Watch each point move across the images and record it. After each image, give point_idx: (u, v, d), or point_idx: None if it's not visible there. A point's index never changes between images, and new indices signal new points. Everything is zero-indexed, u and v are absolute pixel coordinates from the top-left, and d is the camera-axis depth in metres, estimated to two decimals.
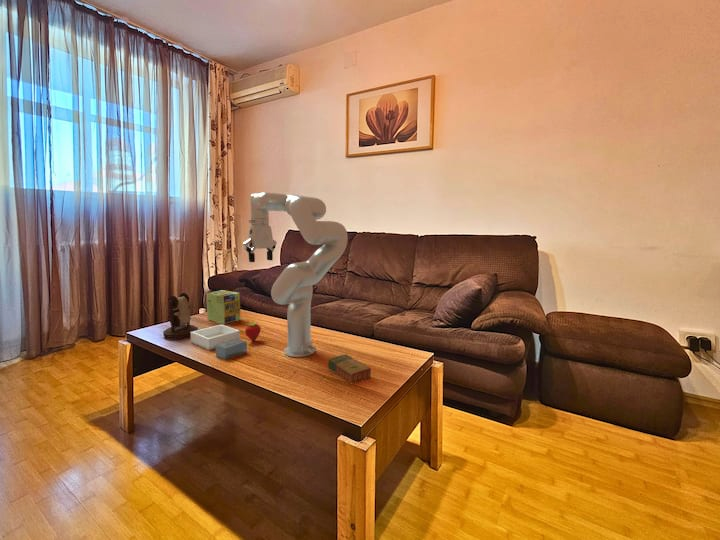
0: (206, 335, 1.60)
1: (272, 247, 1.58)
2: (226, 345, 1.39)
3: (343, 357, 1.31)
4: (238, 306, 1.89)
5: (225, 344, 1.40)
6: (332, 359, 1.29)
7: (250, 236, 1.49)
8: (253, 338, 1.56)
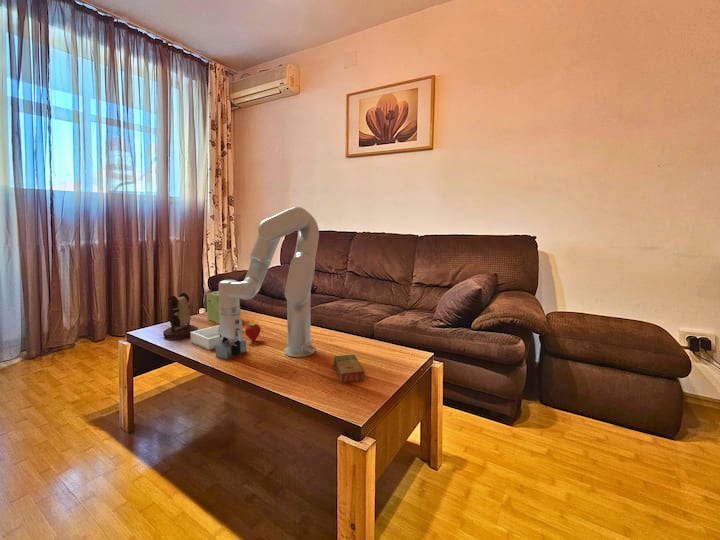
0: (206, 335, 1.60)
1: None
2: (227, 344, 1.39)
3: (348, 357, 1.31)
4: None
5: (225, 343, 1.40)
6: (337, 357, 1.31)
7: (236, 327, 1.37)
8: (253, 338, 1.56)
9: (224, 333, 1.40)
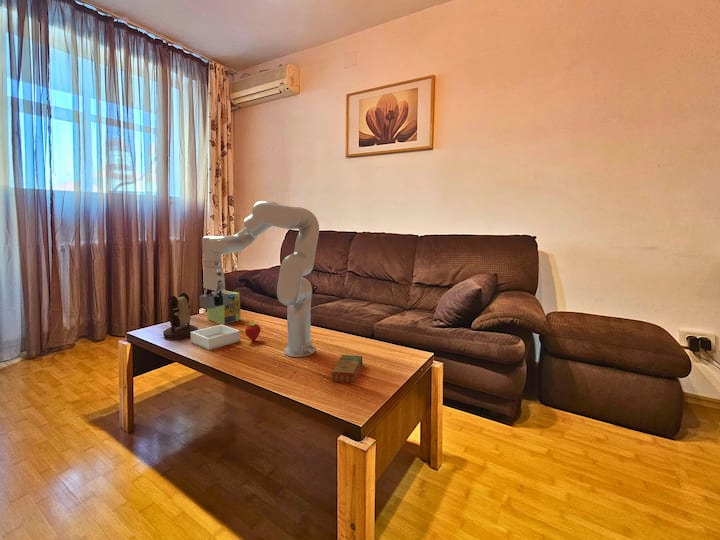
0: (206, 335, 1.60)
1: None
2: (210, 295, 1.50)
3: (354, 357, 1.31)
4: (238, 306, 1.89)
5: (208, 295, 1.51)
6: (343, 356, 1.32)
7: (219, 279, 1.48)
8: (253, 338, 1.56)
9: (208, 285, 1.51)
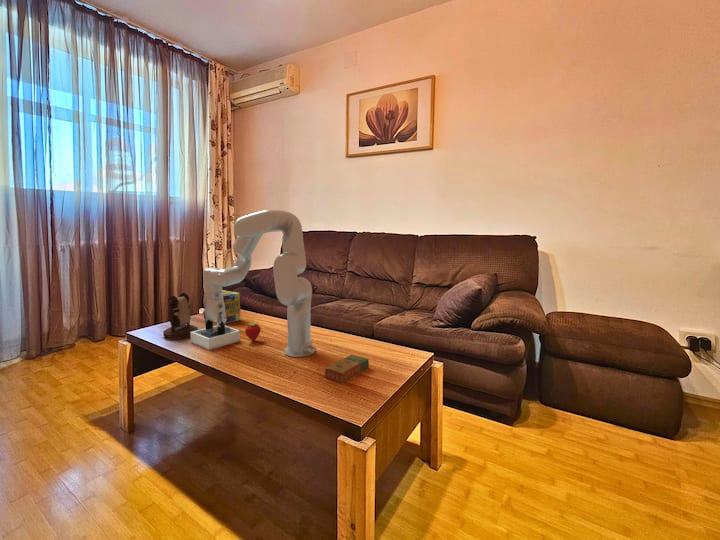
0: None
1: None
2: (211, 330, 1.53)
3: (359, 358, 1.30)
4: (238, 306, 1.89)
5: (210, 330, 1.54)
6: (351, 356, 1.32)
7: (219, 310, 1.51)
8: (253, 338, 1.56)
9: (209, 316, 1.53)
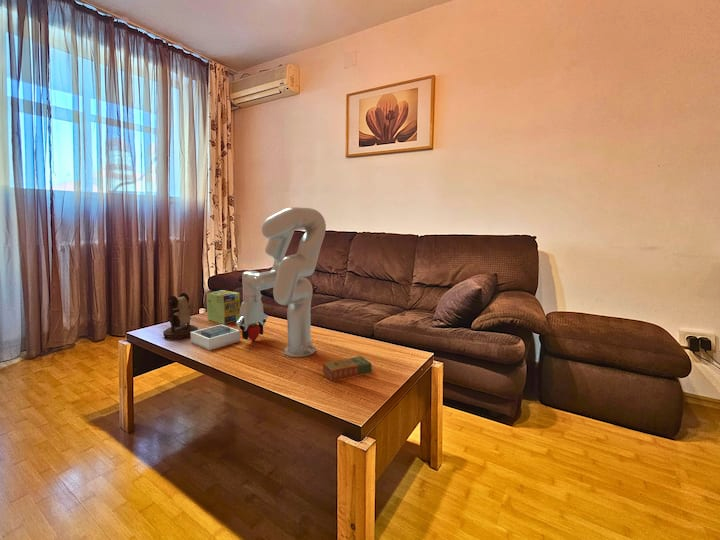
0: None
1: (241, 325, 1.53)
2: (211, 330, 1.53)
3: (362, 361, 1.27)
4: (238, 306, 1.89)
5: (210, 330, 1.54)
6: (359, 357, 1.31)
7: None
8: (253, 338, 1.56)
9: (254, 319, 1.54)
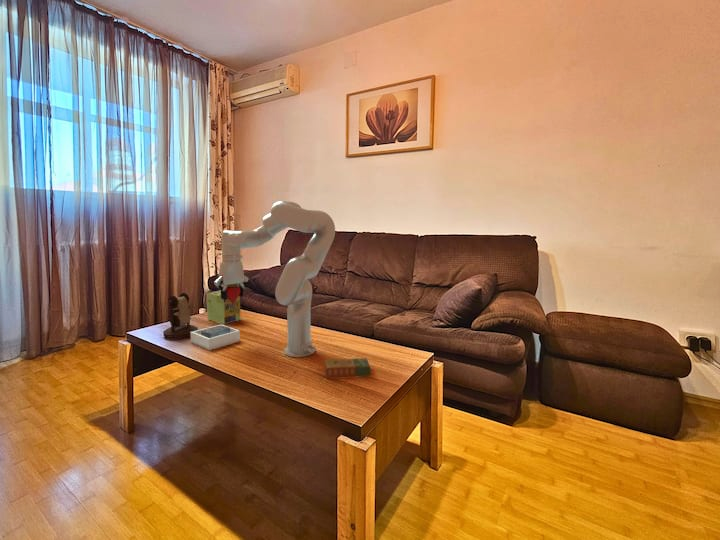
0: None
1: None
2: (211, 330, 1.53)
3: (363, 363, 1.25)
4: (238, 306, 1.89)
5: (210, 330, 1.54)
6: (363, 359, 1.30)
7: None
8: (232, 299, 1.53)
9: (233, 280, 1.51)
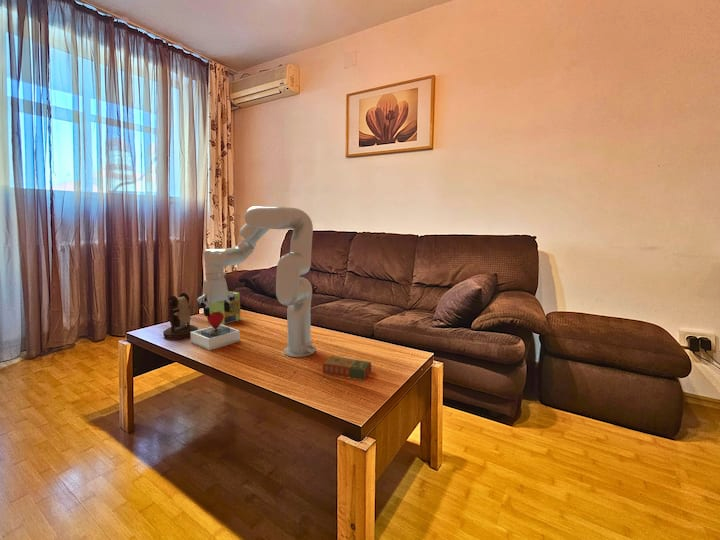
0: None
1: None
2: (211, 330, 1.53)
3: (361, 366, 1.23)
4: (238, 306, 1.89)
5: (210, 330, 1.54)
6: (366, 362, 1.27)
7: None
8: (215, 325, 1.54)
9: (217, 297, 1.53)
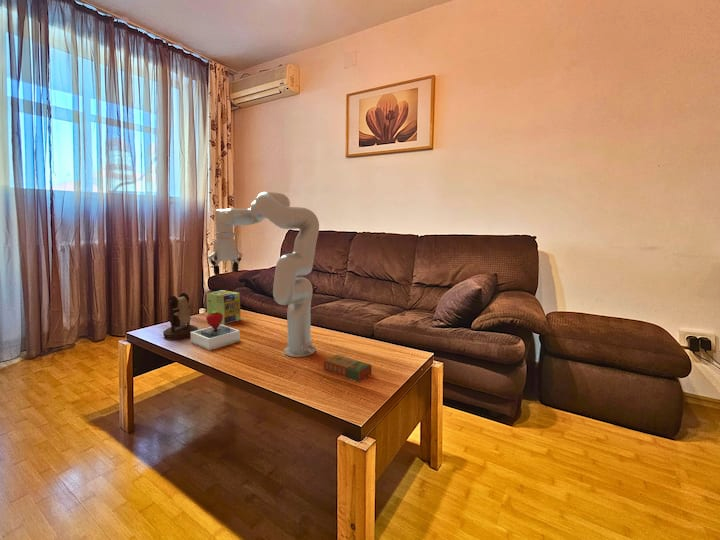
0: None
1: None
2: (211, 330, 1.53)
3: (358, 367, 1.22)
4: (238, 306, 1.89)
5: (210, 330, 1.54)
6: (366, 364, 1.25)
7: None
8: (214, 326, 1.54)
9: (227, 256, 1.58)
